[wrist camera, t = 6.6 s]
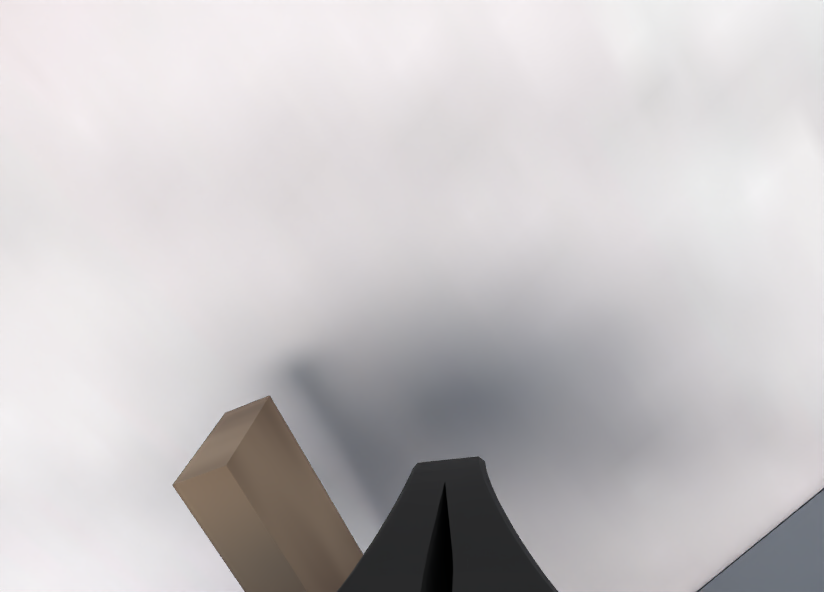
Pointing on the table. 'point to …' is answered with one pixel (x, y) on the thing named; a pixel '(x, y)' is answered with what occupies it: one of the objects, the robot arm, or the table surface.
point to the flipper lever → (266, 506)
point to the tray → (781, 557)
